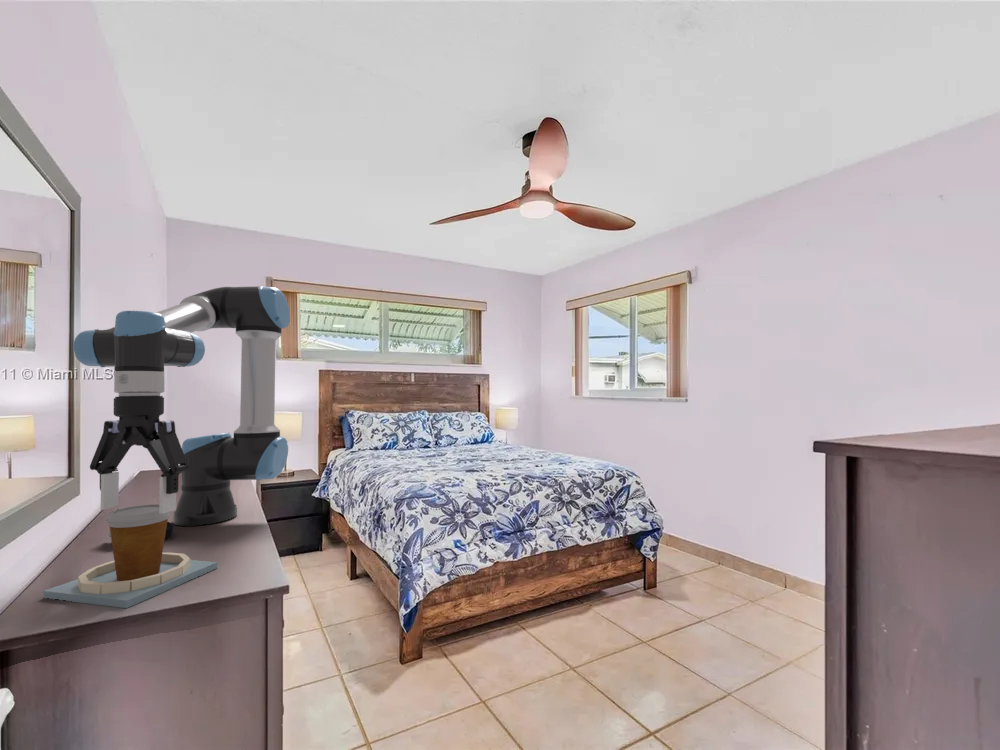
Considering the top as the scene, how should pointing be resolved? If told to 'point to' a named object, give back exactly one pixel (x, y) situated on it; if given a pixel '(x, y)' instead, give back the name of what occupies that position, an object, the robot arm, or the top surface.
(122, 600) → the collar base
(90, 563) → the top surface
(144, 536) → the disposable coffee cup
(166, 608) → the top surface
